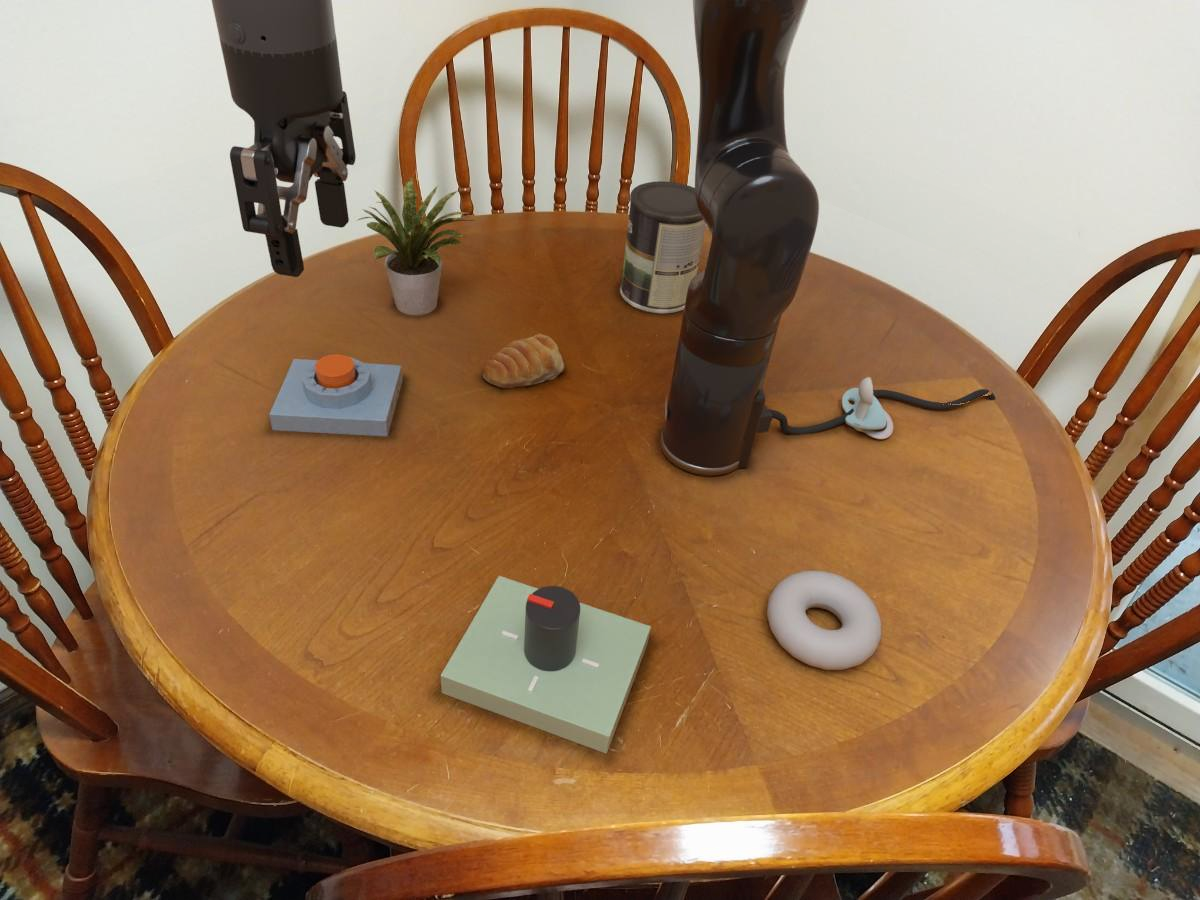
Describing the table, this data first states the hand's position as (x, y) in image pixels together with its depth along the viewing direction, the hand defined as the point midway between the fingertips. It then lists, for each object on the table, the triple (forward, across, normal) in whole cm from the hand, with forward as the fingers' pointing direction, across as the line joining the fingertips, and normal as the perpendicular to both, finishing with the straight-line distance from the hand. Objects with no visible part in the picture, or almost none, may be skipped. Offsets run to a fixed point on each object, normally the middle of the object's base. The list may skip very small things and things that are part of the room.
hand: (313, 247), depth 68 cm
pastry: (+26, +23, -12) cm, 37 cm away
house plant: (+26, +32, +5) cm, 41 cm away
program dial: (+23, -17, -24) cm, 38 cm away
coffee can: (+26, +46, -25) cm, 58 cm away
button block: (+26, +11, +6) cm, 28 cm away
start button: (+22, +11, +6) cm, 25 cm away
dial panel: (+26, -17, -24) cm, 39 cm away
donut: (+26, -7, -47) cm, 54 cm away
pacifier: (+26, +24, -53) cm, 64 cm away
